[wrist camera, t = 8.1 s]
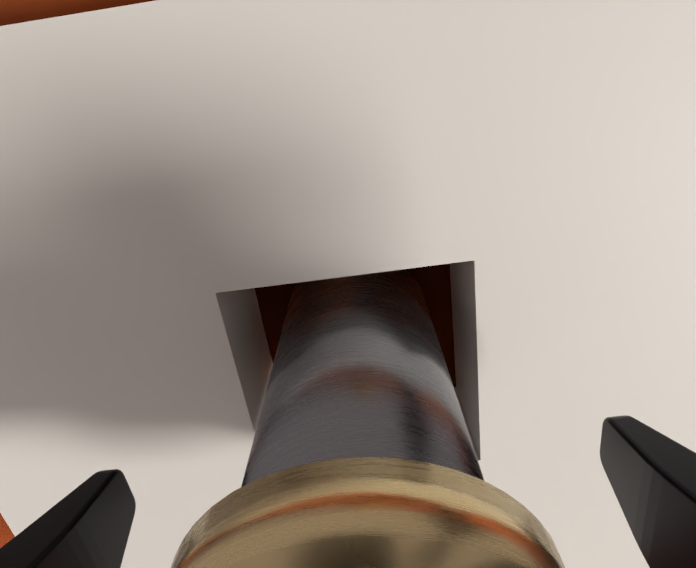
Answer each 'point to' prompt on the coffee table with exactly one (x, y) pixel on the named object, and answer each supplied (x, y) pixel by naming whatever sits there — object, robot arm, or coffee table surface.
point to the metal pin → (363, 450)
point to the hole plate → (343, 234)
